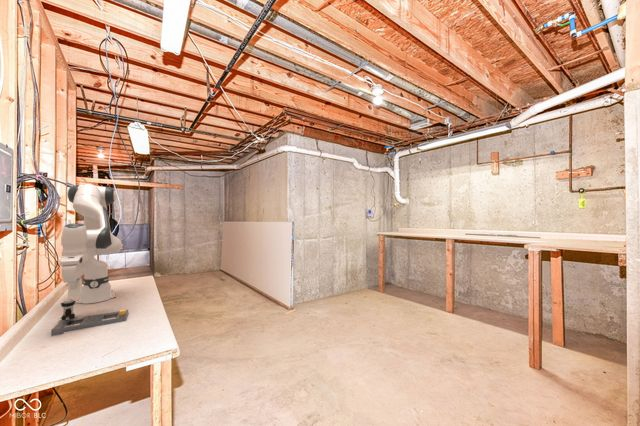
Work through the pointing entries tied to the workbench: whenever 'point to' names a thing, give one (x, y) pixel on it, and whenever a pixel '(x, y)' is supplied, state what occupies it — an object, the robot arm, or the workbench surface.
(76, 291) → the plug
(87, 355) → the workbench surface
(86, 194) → the robot arm
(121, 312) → the plate
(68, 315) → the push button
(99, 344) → the workbench surface
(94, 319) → the panel
